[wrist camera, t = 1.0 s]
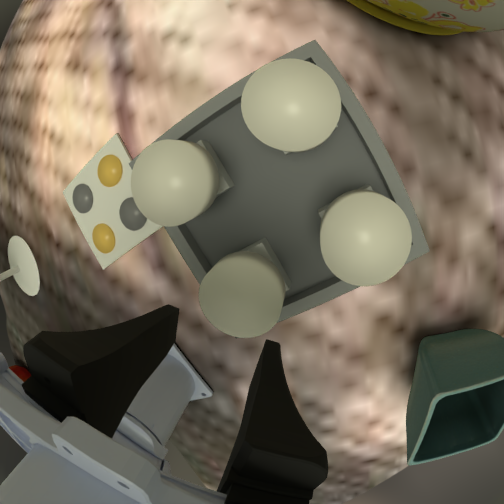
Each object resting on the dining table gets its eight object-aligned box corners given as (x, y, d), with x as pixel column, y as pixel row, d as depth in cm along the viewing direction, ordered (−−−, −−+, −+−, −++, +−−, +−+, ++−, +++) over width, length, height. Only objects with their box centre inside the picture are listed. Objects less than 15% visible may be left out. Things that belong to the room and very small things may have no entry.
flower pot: (403, 319, 20) (433, 397, 12) (488, 304, 18) (537, 363, 10) (392, 393, 23) (405, 467, 15) (468, 378, 21) (496, 440, 12)
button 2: (281, 167, 17) (273, 169, 14) (240, 102, 16) (223, 90, 13) (351, 129, 15) (360, 122, 12) (308, 64, 15) (306, 43, 11)
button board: (241, 327, 24) (235, 339, 22) (139, 162, 21) (127, 163, 19) (422, 244, 18) (430, 252, 17) (315, 48, 16) (314, 38, 14)
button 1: (340, 276, 18) (344, 300, 15) (305, 209, 18) (302, 221, 14) (406, 243, 17) (423, 261, 14) (374, 173, 16) (388, 176, 13)
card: (105, 268, 25) (102, 270, 25) (64, 191, 24) (61, 192, 23) (168, 222, 22) (165, 224, 22) (118, 133, 21) (114, 133, 20)
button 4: (182, 227, 20) (157, 241, 17) (148, 168, 19) (118, 172, 16) (240, 191, 18) (224, 198, 15) (202, 127, 17) (178, 121, 14)
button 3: (240, 320, 21) (227, 347, 18) (204, 263, 20) (183, 283, 17) (300, 294, 19) (296, 321, 16) (264, 231, 19) (253, 247, 15)
